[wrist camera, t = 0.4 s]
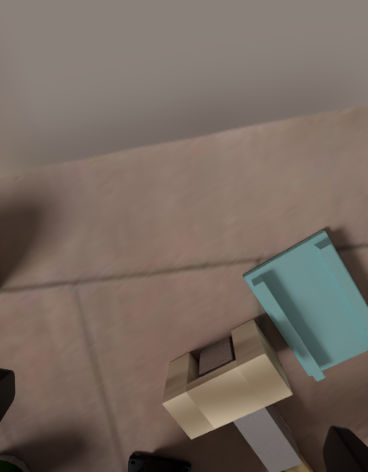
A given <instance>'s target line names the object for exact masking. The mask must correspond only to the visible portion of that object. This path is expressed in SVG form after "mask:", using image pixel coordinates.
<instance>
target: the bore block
mask: <svg viewBox="0 0 368 472" xmlns="http://www.w3.org/2000/svg"><path fill="white" fill-rule="evenodd" d="M231 333H232V339H233V345H234V351H235V357H236V360H235V361H233V362H231V363H229V364H227V365H225V366H223V367H221V368H219V369H217V370H215V371H213V372H211V373H209V374H207V375H205V376H203V377H201V376H200V375H199V370H200V366H199V365H198V363H197V362H196V361H195V359H194V358H193V357H192V355H191V354H190V353H187V354H185V355H183V356H181V357H180V358H178V359H176V360H174V361H172V362H170V363H169V369H168V374H167V380H166V385H165V391H164V396H163V402H162V404H163V405H164V407H165V408H166V409H167V410H168V411H169V413H170V414H171V415H172V416H173V418H174V419H175V420H176V421H177V423H178V424H179V425H180V426H181V428H182V429H183V430H184V431H185V432H186V434H187V435H188V436H189V437H190V439H194V438H196V437H198V436H200V435H203V434H205V433H207V432H209V431H212V430H214V429H216V428H218V427H221V426H223V425H225V424H228V423H230V422H232V421H234V420H237V419H239V418H241V417H243V416H246V415H248V414H250V413H252V412H255V411H257V410H259V409H261V408H264V407H266V406H268V405H270V404H273V403H275V402H277V401H279V400H282V399H284V398H286V397H289V396H291V395H293V393H292V391H291V388H290V386H289V383H288V381H287V378H286V376H285V373H284V371H283V368H282V366H281V363H280V361H279V358H278V356H277V353H276V352H275V350H274V349H273V347H272V346H271V344H270V343H269V341H268V340H267V338H266V337H265V335H264V334H263V332H262V331H261V330H260V328H259V327H258V325H257V324H256V322H255V321H254V319H252V320H250V321H248V322H246V323H244V324H242V325H240V326H239V327H237V328H235V329H233V330H231Z"/></svg>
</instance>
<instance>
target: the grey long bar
mask: <svg viewBox="0 0 368 472" xmlns="http://www.w3.org/2000/svg"><path fill="white" fill-rule="evenodd" d="M235 360H236V357H235V351H234V345H233V343H232V342H231V340H230V339H229V338H227V339H225V340H223V341H221V342H219V343H217V344H215V345H213V346H211V347H209V348H207V349H204V350H202V351H200V370H199V375H200V376H201V377H203V376H205V375H207V374H209V373H211V372H213V371H215V370H217V369H219V368H221V367H223V366H225V365H227V364H229V363H231V362H233V361H235ZM233 422H234V424H235V425H236V426H237V428H238V429H239V431H240V432H241V433H242V435H243V436H244V438H245V439H246V440H247V442H248V443H249V445H250V446H251V447H252V449H253V450H254V452H255V453H256V454H257V456H258V457H259V458H260V460H261V461H262V463H263V464H264V465H265V467H266V468H267V470H268V471H269V472H281V471H283V470H286V469H289V468H292V467H295V466H297V465H300V464H303V462H302V459H301V456H300V453H299V450H298V448H297V445H296V442H295V439H294V436H293V433H292V431H291V430H290V428H289V427H288V425H287V424H286V422H285V421H284V419H283V418H282V416H281V415H280V413H279V412H278V410H277V409H276V407H275V406H274V404H270V405H268V406H266V407H264V408H261V409H259V410H257V411H255V412H252V413H250V414H248V415H246V416H243V417H241V418H239V419H237V420H234V421H233Z"/></svg>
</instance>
